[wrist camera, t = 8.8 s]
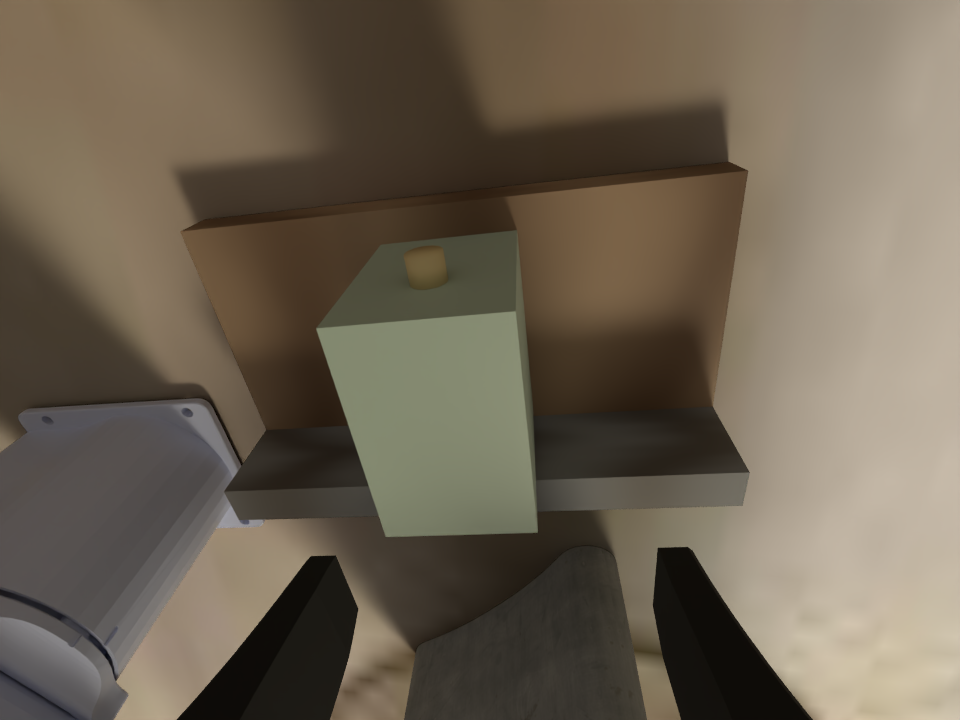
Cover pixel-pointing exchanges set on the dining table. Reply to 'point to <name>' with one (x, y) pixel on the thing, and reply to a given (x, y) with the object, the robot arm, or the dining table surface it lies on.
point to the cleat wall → (549, 327)
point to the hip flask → (537, 653)
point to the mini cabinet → (439, 385)
